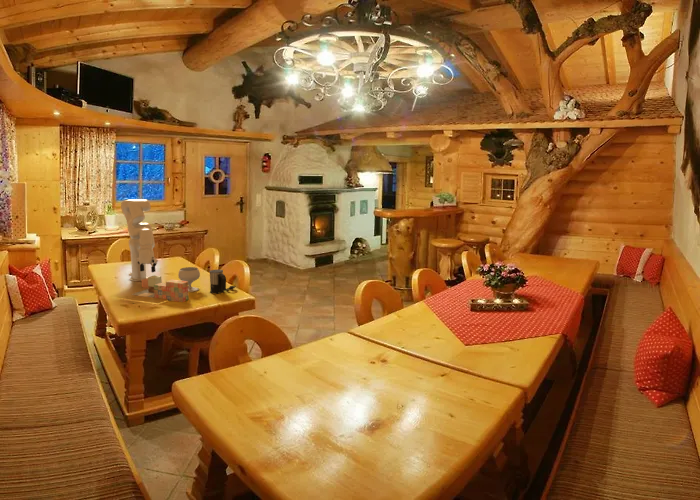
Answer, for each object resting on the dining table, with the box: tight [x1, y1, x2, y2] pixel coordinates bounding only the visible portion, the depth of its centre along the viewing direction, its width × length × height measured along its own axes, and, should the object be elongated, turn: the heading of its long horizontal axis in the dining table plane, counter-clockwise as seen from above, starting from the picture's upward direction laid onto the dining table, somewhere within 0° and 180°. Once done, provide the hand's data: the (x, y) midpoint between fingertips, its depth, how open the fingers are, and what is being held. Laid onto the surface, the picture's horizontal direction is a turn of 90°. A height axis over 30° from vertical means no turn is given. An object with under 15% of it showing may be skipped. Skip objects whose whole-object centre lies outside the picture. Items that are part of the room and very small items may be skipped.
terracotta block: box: [141, 278, 148, 289], centre depth 342 cm, size 6×6×6 cm
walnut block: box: [147, 286, 154, 293], centre depth 331 cm, size 6×6×4 cm
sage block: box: [148, 275, 163, 287], centre depth 330 cm, size 6×6×6 cm
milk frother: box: [209, 269, 237, 294], centre depth 336 cm, size 14×16×15 cm
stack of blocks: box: [154, 279, 189, 303], centre depth 316 cm, size 21×6×12 cm, turn 73°
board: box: [131, 288, 155, 298], centre depth 327 cm, size 18×17×1 cm
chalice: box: [177, 266, 201, 293], centre depth 337 cm, size 14×14×15 cm
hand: (147, 271), depth 340 cm, fingers open, 9 cm apart
